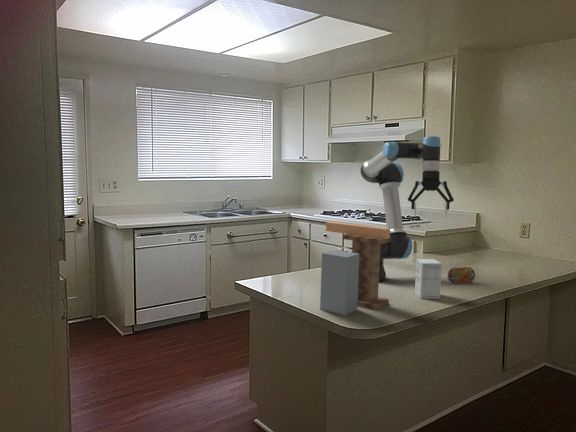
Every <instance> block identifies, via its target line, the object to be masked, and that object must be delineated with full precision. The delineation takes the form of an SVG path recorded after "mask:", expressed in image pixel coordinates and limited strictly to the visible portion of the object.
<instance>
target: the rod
mask: <svg viewBox="0 0 576 432" xmlns="http://www.w3.org/2000/svg"><path fill="white" fill-rule="evenodd" d="M325 232H330V233H332V232H333V233H339V234H352V235H360V236H367V237H374V238H382V239H388V238H390V229H389V228H387V227H381V226H380V227H379V226H370V225H362V224H355V223H349V222H348V223H347V222H339V221H326V223H325Z"/></svg>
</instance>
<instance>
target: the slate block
mask: <svg viewBox="0 0 576 432" xmlns="http://www.w3.org/2000/svg"><path fill="white" fill-rule="evenodd" d="M320 271H321V272H320V296H319V297H320V299H319V301H320V303H319V309H320V310H322V311H326V312H330V313H333V314H337V315H341V316H347V315H349V314H351V313H353V312H355V311H357V310H358V306H357V299H358V276H359V254H358V253H352V251H346V250H345V251H344V250H338V249H333V250H329V251H325V252H322V253H321V270H320Z"/></svg>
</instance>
